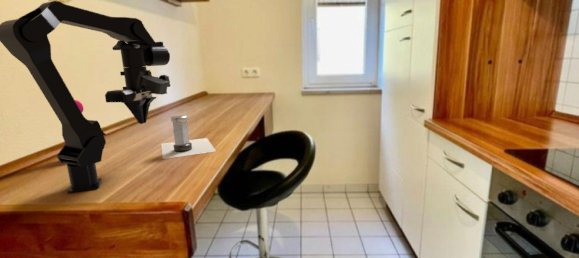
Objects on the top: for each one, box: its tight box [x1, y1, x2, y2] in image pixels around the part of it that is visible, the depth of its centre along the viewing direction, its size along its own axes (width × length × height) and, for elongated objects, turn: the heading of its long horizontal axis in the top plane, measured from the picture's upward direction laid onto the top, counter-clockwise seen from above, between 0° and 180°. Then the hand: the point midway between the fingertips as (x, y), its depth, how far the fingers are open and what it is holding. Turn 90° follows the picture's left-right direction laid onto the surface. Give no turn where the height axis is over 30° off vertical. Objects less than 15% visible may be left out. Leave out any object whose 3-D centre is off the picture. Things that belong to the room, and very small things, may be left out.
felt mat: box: [160, 137, 217, 160], centre depth 112 cm, size 20×16×1 cm
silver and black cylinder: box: [170, 114, 192, 152], centre depth 108 cm, size 6×6×11 cm
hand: (142, 123), depth 94 cm, fingers closed
